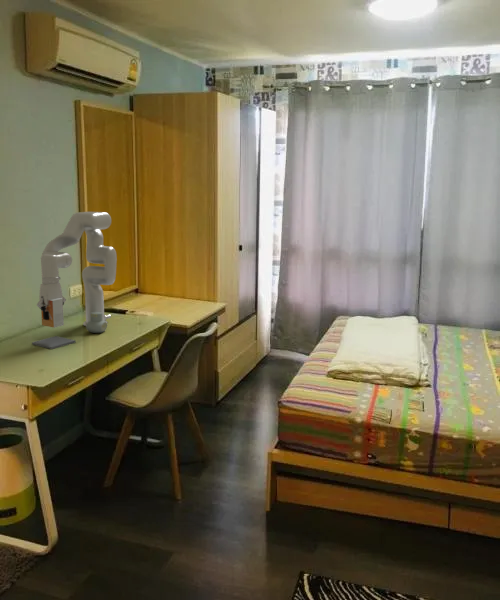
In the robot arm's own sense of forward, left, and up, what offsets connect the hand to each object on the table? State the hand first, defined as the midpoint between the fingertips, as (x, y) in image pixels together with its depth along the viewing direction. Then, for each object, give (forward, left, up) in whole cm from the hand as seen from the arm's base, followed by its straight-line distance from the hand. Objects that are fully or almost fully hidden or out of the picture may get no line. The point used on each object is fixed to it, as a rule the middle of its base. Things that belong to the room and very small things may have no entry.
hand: (52, 317), depth 280 cm
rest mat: (0, 0, -13) cm, 13 cm away
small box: (0, 0, -4) cm, 4 cm away
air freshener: (-27, 0, -13) cm, 30 cm away
